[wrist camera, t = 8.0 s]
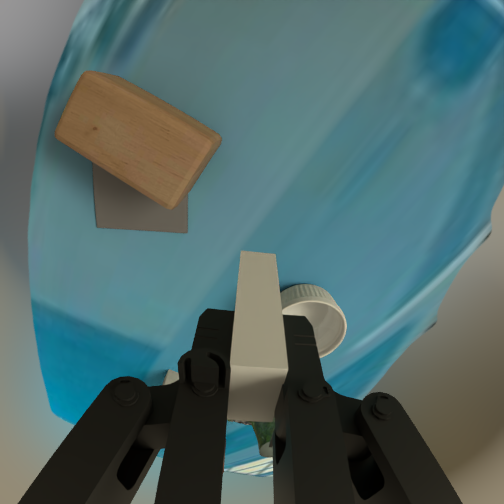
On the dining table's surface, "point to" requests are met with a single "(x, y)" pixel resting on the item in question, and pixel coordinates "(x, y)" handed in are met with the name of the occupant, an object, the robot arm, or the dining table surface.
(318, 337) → the ramekin
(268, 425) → the tree stump
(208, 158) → the wooden block
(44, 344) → the dining table surface
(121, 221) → the mat
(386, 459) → the robot arm
